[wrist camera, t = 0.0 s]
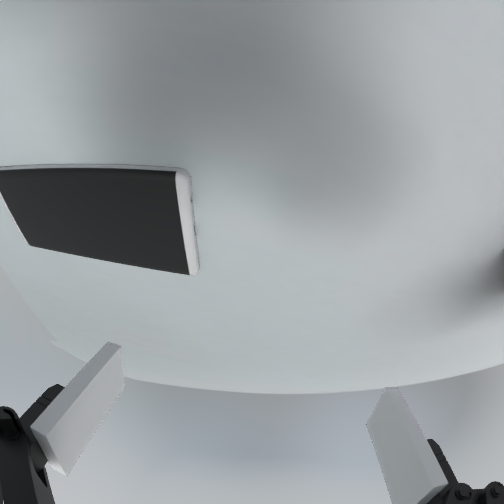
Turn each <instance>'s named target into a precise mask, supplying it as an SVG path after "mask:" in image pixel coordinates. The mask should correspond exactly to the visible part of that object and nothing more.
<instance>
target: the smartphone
mask: <svg viewBox="0 0 504 504" xmlns="http://www.w3.org/2000/svg"><path fill="white" fill-rule="evenodd" d="M0 196H1V198H2V200H3V202H4V204H5V206H6V208H7V210H8V212H9V213H10V215H11V217H12V219H13V221H14V223H15V224H16V226H17V228H18V230H19V231H20V233H21V235H22V237H23V238H24V240H25V242H26V243H27V244H28V245H30V246H34V247H39V248H44V249H49V250H53V251H58V252H63V253H68V254H73V255H78V256H83V257H89V258H94V259H99V260H104V261H110V262H115V263H121V264H126V265H132V266H138V267H143V268H149V269H155V270H161V271H167V272H173V273H179V274H185V275H192V276H193V275H197V274H198V273H199V270H200V261H199V253H198V244H197V235H196V234H195V233H194V224H195V216H194V206H193V200H191V196H192V184H191V176H190V174H189V173H188V172H187V171H186V170H184V169H182V168H175V167H160V166H142V165H117V164H46V165H24V166H8V167H0Z"/></svg>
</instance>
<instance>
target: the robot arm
mask: <svg viewBox="0 0 504 504" xmlns="http://www.w3.org/2000/svg"><path fill="white" fill-rule="evenodd" d="M124 388H125V385H124V375H123V363H122V349H121V346H120V345H117V344H113V343H110V342H107V343H106V344H105V345H104V346H103V347H102V349H101V350H100V351H99V352H98V353H97V354H96V355H95V356H94V357H93V358H92V359H91V360H90V361H89V362H88V363H87V364H86V365H85V366H84V368H83V369H82V370H81V371H80V372H79V373H78V374H77V375H76V376H75V377H74V378H73V379H72V380H71V381H70V383H69V384H68V385H67V386H66V387H63V386H61V385H59V384H56V385H54V386H52V387H50V388H48V389H47V390H46V391H45V392H44V393H43V394H42V396H41V397H39V398H38V399H37V400H36V402H34V403H33V405H32V406H31V407H30V408H29V409H28V410H27V411H26V412H25V413H24V414H23V415H22V416H21V417H20V418H19V417H18V415H17V413H16V412H15V411H14V410H13V409H11V408H9V407H5V406H2V407H0V504H3V500H4V504H55V502H54V498H53V495H52V491H51V488H50V484H49V480H48V476H47V472H46V468H45V464H46V463H47V461H48V462H49V464H50V465H51V467H52V468H53V469H55V470H56V471H58V472H60V473H62V474H63V475H65V476H68V474H69V473H70V471H71V470H72V468H73V466H74V465H75V463H76V462H77V460H78V458H79V457H80V455H81V454H82V452H83V451H84V449H85V447H86V446H87V444H88V443H89V441H90V440H91V438H92V437H93V435H94V433H95V432H96V430H97V429H98V427H99V426H100V424H101V423H102V421H103V420H104V418H105V417H106V415H107V414H108V412H109V410H110V409H111V407H112V406H113V404H114V403H115V401H116V400H117V398H118V397H119V395H120V394H121V392H122V391H123V390H124ZM366 425H367V428H368V431H369V434H370V437H371V440H372V443H373V446H374V448H375V451H376V454H377V457H378V460H379V463H380V466H381V469H382V473H383V475H384V479H385V482H386V485H387V488H388V491H389V495H390V498H391V501H392V504H504V486H503V484H501V483H500V482H496V481H495V482H491V483H490V484H488V485H487V486H486V487H485V488H484V489H471V487H470V486H469V485H467V484H465V483H458V481H457V479H456V477H455V475H454V473H453V471H452V469H451V467H450V465H449V464H448V462H447V461H446V458H445V456H444V455H443V452H442V450H441V448H440V446H439V445H438V444H437V443H436V442H435V441H434V440H433V439H428V440H427V439H426V437H425V436H424V434H423V432H422V430H421V428H420V426H419V424H418V422H417V420H416V419H415V417H414V415H413V413H412V411H411V410H410V408H409V406H408V404H407V402H406V400H405V399H404V397H403V395H402V394H401V392H400V390H399V388H398V387H386V388H385V390H384V392H383V394H382V396H381V398H380V400H379V402H378V404H377V406H376V408H375V409H374V411H373V413H372V415H371V417H370V419H369V420H368V422H367V424H366Z"/></svg>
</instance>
